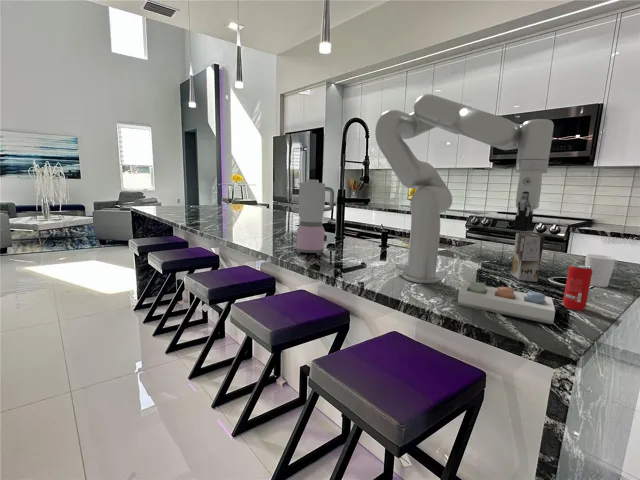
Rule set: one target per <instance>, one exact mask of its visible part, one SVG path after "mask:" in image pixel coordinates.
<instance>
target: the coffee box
mask: <svg viewBox="0 0 640 480" xmlns="http://www.w3.org/2000/svg"><path fill="white" fill-rule="evenodd" d="M515 233H516V234H515V239H514V247H513V253H512V263H511V269H510V275H511V276H513V277H514V278H516V279H517V280H518V281H527V282H535V283H536V282H538V279H539V273H540V268H541V262H542V254H543V249H544V244H545V242H544V241H545V236H542V235H539V234H536V233H531V232H530V233H529V232H515Z"/></svg>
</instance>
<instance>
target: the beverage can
mask: <svg viewBox="0 0 640 480" xmlns="http://www.w3.org/2000/svg"><path fill="white" fill-rule="evenodd" d="M591 276H592V267H590V266H586V265H585V264H580V263H577V264H576V263H570V265H569V267H568V271H567V276H566V281H565V283H566V284H565V289H564V293H563V294H564V295H563V300H562V303H563V307H565V308H566V309H569V310H572V311H577V312H580V311H581V310H582V311H584V310H585V308H586V307H587V303H588V302H587V301H588V297H589V292H590V291H589V290H590V286H591V285H590V282H591ZM582 311H581V312H582Z"/></svg>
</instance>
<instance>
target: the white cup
mask: <svg viewBox="0 0 640 480" xmlns="http://www.w3.org/2000/svg"><path fill="white" fill-rule="evenodd" d="M615 262H616V258H615V257H611V256H608V255H601V254H591V253H590V254H586V255H585V263H584V265H586V266H590V267H592V276H591V282H590V286H592V287H597V288H608V286H609V283H610V279H611V277H612V273H613V270H614V265H615Z"/></svg>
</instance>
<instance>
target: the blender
mask: <svg viewBox="0 0 640 480" xmlns="http://www.w3.org/2000/svg"><path fill="white" fill-rule="evenodd" d="M297 184H298V185H299V189H298V213H299V224H298V227H297V229H296V247H295V250H296V254H298V255H301V254H302V253H306V254H316V256H321V254H322V253H323V252H324V250H325V248H324V246H325V242H327V241H328V240H327V239H328V238H327V236H328V235H326V234H325V228H324V226H323V218H324V212H331V211H332V210H333V209H334V202H335V190H334V189H333V188H332V187H328V186H326V184H325V183H324V182H320V181H319V179H308V178H307V179H306V182H297ZM326 192H329V206H325V205H326Z"/></svg>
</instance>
